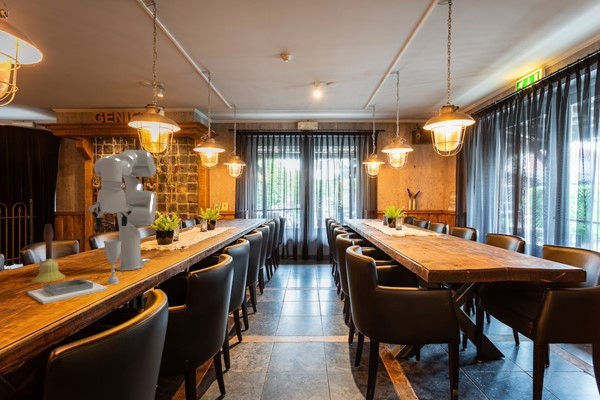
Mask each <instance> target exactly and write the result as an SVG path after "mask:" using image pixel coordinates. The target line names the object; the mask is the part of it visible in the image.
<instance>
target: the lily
mask: <svg viewBox="0 0 600 400" xmlns="http://www.w3.org/2000/svg"><path fill="white" fill-rule="evenodd" d="M37 258H38V259H39V262H38V263H39V264H38V267H37V268H36V269H35V270H34V272H33V273H32V275H34V274H35V273H36V272H37V271H38V269H39V268H40V265H41V264H42V263H44V262H45V260H42V257H40V256H37Z"/></svg>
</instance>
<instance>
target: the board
mask: <svg viewBox="0 0 600 400" xmlns="http://www.w3.org/2000/svg"><path fill="white" fill-rule="evenodd" d="M85 280H86V279H85ZM86 281H89V282H91V283H93V288H92V289H87V290H82V291H77V292H72V293H67V294H62V295H58V296H52V295H50V294H49V293H47V292H45V291H43V288H38V289H34V290H28V291H27V295H29V296H30V297H31V298H33V299H35V300H36V301H38V302H40V303H41V304H43V305H45V304H51V303H54V302H60V301H64V300H68V299H73V298H77V297H78V298H79V297H81V296H86V295H91V294H96V293H100V292H101V293H102V292H104V291H108V289H109V287H108V286H105V285H102V284H99V283H98V282H97V283H96V282H94V281H91V280H88V279H87V280H86ZM74 286H77V285H74ZM68 287H72V286H68ZM63 288H66V287H63ZM58 289H61V288H58Z"/></svg>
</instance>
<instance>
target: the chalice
mask: <svg viewBox="0 0 600 400" xmlns="http://www.w3.org/2000/svg"><path fill="white" fill-rule="evenodd" d="M121 241H122V240H120V239H109V240H103V241H102V242H103V244H104V255H105V257H106V259H107V261H108V262H109V263H111V265H110V269H111V270H110V273H111V276H110V277H108V279H107V282H106V283H105V284H106V285H117V284H120V282H121V281H120V280H119V277H118V276H116V275H115V272H116V270H115V269H116V265H115V263H116V262H117V261H118V260H119V258H120V252H121Z"/></svg>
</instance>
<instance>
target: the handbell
mask: <svg viewBox="0 0 600 400" xmlns="http://www.w3.org/2000/svg"><path fill="white" fill-rule="evenodd" d="M43 239H44V242H45V260H44V261H45V262H44V263H42V264H41V265H40V268H38V269H39V270H38V274H37V275H36V276H35V277H34V278H32V280H31V281H30V282H31V283H33V284H36V283H38V284H39V283H41V284H42V283H49V282H50V281H51V282H55V281H56V280H57V281H61V280H63V278H64V279H66V278H67V277H66V275H65V274H64V273H62V272H61V271H59V263H58V262H56V261H54V260H53V254H52V253H53V252H52V251H53V248H52V247H53V246H52V245H53V240H54V229H53V225H52V223H46V224H45V225H44V229H43ZM65 277H66V278H65ZM51 282H50V283H51Z"/></svg>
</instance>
